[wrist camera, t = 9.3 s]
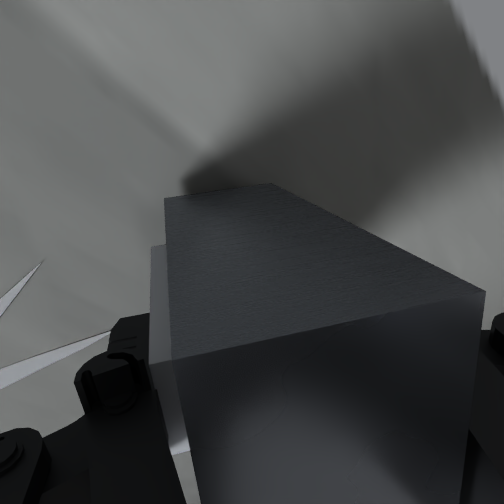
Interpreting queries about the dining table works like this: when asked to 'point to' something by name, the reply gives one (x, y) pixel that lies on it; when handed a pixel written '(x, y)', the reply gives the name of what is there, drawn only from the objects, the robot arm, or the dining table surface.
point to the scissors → (31, 365)
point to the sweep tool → (315, 355)
